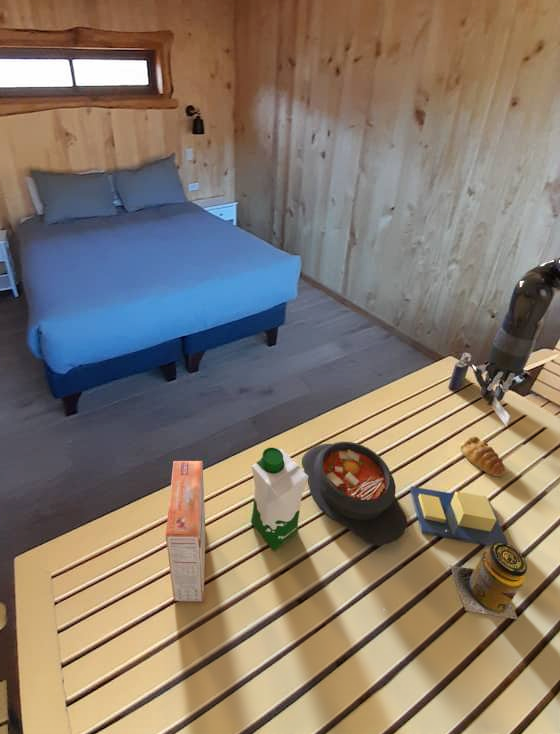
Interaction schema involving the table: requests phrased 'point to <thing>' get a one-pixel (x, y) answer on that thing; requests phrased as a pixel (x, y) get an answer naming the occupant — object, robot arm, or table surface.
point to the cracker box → (187, 531)
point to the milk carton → (277, 496)
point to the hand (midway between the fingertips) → (490, 398)
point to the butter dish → (452, 523)
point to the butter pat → (432, 508)
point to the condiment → (492, 581)
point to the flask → (460, 372)
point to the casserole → (355, 491)
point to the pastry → (482, 456)
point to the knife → (497, 407)
